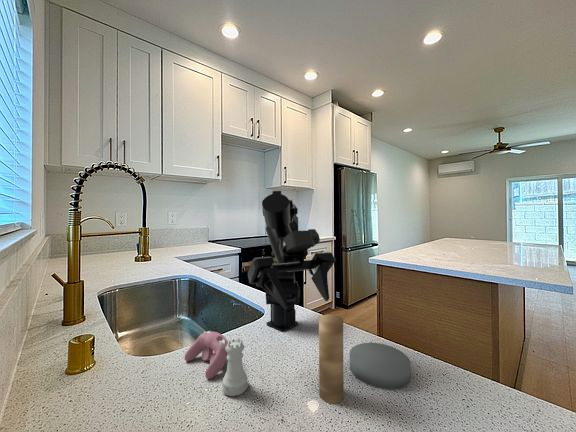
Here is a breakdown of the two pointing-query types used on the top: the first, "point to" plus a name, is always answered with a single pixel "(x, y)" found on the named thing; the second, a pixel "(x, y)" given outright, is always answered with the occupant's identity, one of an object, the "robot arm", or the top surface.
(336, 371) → the teak pillar
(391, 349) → the grey plinth
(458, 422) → the top surface
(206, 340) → the video game controller
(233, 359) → the rook chess piece
